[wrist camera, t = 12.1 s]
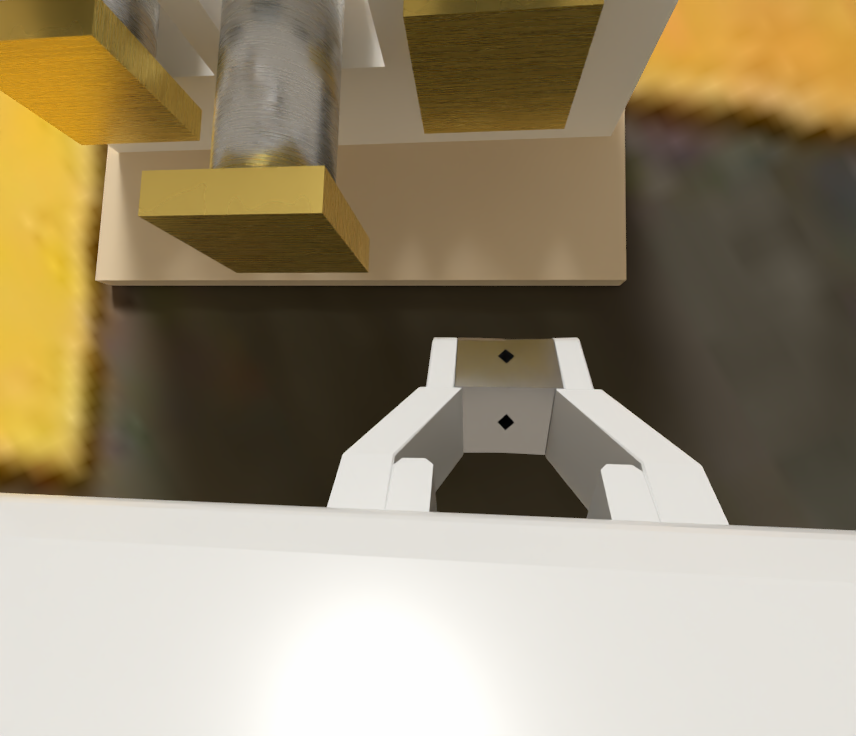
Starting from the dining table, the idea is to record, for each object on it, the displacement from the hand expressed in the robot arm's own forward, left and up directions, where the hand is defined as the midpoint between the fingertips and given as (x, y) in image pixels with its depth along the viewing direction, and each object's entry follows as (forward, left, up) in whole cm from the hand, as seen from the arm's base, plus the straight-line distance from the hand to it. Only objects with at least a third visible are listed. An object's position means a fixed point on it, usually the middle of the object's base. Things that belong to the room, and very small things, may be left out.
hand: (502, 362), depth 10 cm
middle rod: (-3, +10, -3) cm, 10 cm away
